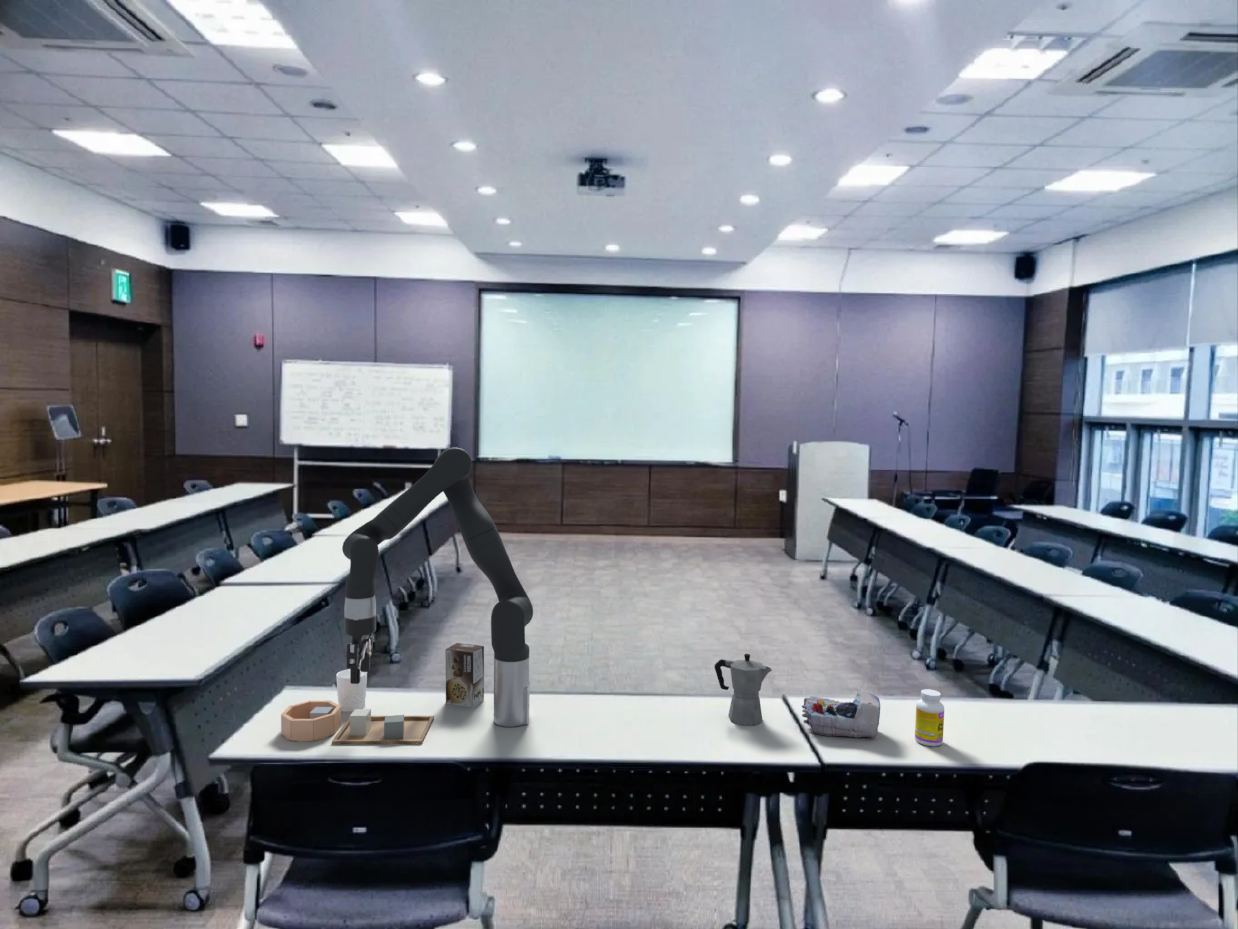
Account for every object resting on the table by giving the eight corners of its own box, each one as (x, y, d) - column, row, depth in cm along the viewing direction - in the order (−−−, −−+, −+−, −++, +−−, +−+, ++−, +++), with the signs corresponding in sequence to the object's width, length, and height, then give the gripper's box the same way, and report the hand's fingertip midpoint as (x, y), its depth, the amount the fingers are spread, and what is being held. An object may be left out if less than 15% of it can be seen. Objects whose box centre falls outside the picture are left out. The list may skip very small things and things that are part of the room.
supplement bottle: (940, 749, 190) (942, 699, 190) (912, 743, 194) (914, 693, 193) (944, 740, 196) (947, 691, 195) (917, 734, 200) (919, 686, 199)
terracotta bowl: (345, 722, 200) (345, 700, 200) (329, 743, 187) (329, 720, 187) (294, 722, 200) (294, 700, 199) (275, 743, 187) (274, 720, 186)
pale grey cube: (371, 728, 195) (371, 709, 195) (366, 735, 191) (366, 715, 191) (355, 728, 195) (355, 709, 195) (349, 735, 191) (349, 715, 190)
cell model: (884, 702, 192) (803, 697, 196) (884, 744, 193) (802, 738, 197) (876, 684, 205) (800, 680, 209) (876, 723, 206) (799, 718, 209)
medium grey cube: (404, 731, 194) (404, 714, 193) (403, 738, 190) (403, 721, 189) (385, 733, 193) (385, 716, 192) (384, 740, 188) (384, 722, 188)
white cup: (361, 715, 205) (360, 678, 205) (331, 714, 205) (331, 677, 205) (371, 704, 213) (371, 668, 212) (343, 703, 213) (342, 668, 213)
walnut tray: (434, 720, 202) (434, 715, 202) (422, 746, 187) (422, 740, 187) (351, 721, 201) (351, 715, 201) (331, 746, 186) (331, 741, 186)
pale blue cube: (333, 726, 196) (333, 707, 195) (327, 732, 192) (327, 713, 191) (315, 726, 196) (315, 706, 195) (309, 732, 192) (309, 713, 191)
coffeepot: (772, 716, 210) (774, 652, 208) (767, 729, 201) (769, 662, 199) (717, 708, 215) (718, 645, 213) (709, 720, 206) (711, 655, 205)
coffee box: (484, 701, 216) (485, 645, 215) (473, 710, 210) (473, 652, 209) (456, 697, 219) (456, 642, 218) (444, 705, 213) (444, 648, 212)
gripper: (353, 606, 198) (353, 667, 199) (335, 621, 184) (336, 687, 185) (383, 606, 198) (382, 668, 200) (367, 621, 184) (367, 687, 185)
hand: (360, 677), depth 192 cm, fingers open, 8 cm apart
